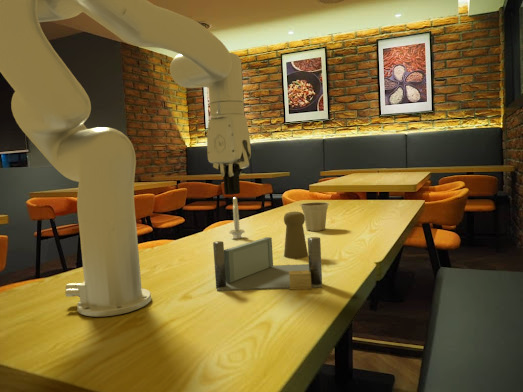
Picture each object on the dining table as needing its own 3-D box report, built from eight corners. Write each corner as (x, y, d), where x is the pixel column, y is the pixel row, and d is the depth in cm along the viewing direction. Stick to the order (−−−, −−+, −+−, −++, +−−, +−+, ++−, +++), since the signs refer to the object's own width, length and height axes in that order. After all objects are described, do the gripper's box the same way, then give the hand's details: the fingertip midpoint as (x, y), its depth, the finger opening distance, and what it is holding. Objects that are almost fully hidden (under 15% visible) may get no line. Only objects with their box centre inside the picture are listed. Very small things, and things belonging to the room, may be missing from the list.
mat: (217, 290, 81) (216, 289, 81) (228, 268, 97) (228, 267, 97) (321, 287, 80) (321, 285, 80) (316, 265, 96) (316, 263, 95)
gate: (230, 282, 84) (228, 250, 83) (225, 281, 85) (223, 250, 84) (273, 266, 95) (271, 237, 94) (268, 265, 96) (266, 237, 95)
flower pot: (297, 229, 143) (295, 203, 142) (322, 226, 146) (321, 201, 145) (308, 233, 134) (307, 206, 133) (335, 230, 137) (333, 203, 136)
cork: (306, 258, 102) (304, 213, 101) (282, 258, 103) (279, 214, 102) (309, 252, 108) (307, 210, 107) (285, 252, 109) (283, 210, 108)
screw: (245, 236, 135) (244, 239, 130) (230, 237, 135) (229, 240, 130) (242, 195, 134) (242, 197, 129) (227, 196, 134) (226, 198, 129)
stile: (290, 289, 79) (287, 242, 78) (290, 283, 83) (287, 238, 82) (323, 288, 79) (321, 241, 78) (321, 282, 83) (319, 236, 82)
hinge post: (215, 289, 82) (212, 243, 81) (217, 286, 84) (214, 241, 83) (225, 288, 82) (222, 243, 81) (227, 285, 84) (224, 241, 83)
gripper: (192, 115, 96) (198, 195, 98) (237, 107, 86) (243, 196, 88) (218, 115, 102) (223, 191, 104) (263, 108, 91) (267, 193, 93)
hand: (232, 193), depth 96 cm, fingers closed
